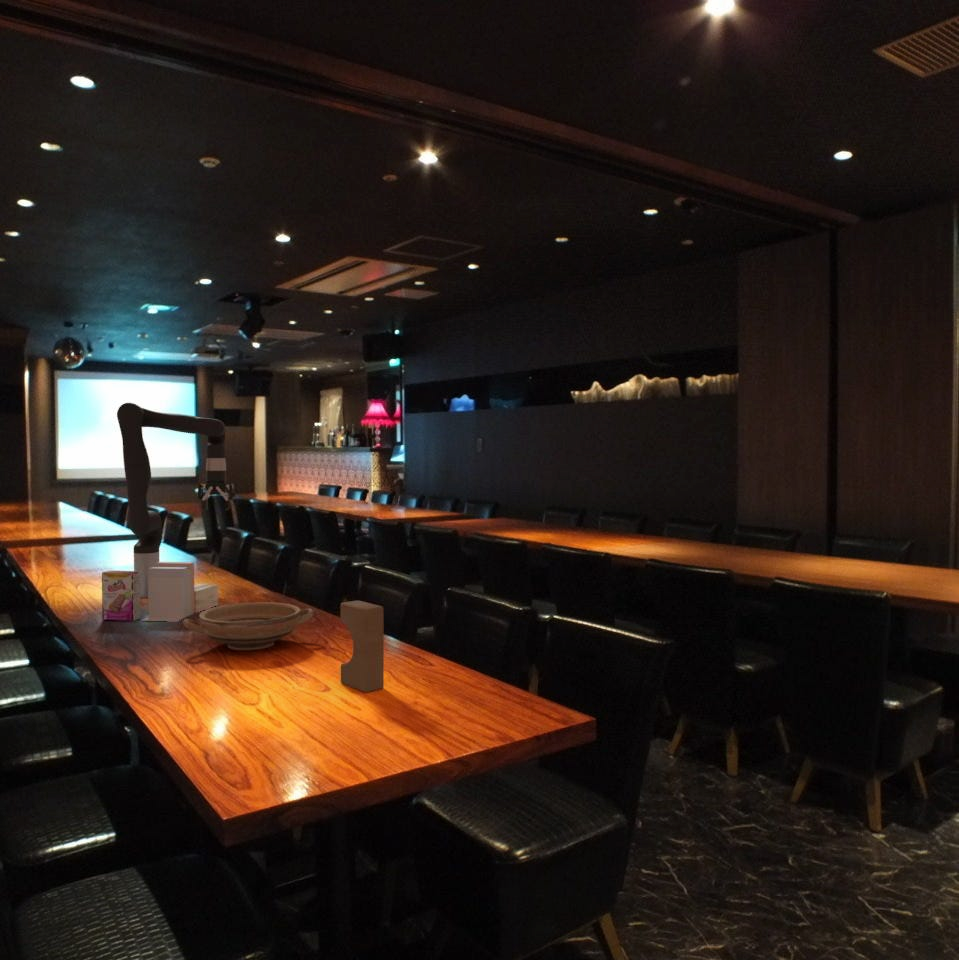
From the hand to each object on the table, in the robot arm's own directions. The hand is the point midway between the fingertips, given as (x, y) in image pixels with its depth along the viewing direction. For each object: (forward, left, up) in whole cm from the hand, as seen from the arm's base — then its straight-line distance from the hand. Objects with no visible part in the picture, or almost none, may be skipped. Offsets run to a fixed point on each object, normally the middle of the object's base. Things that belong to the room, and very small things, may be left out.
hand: (216, 510), depth 314 cm
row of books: (+2, -47, -33) cm, 58 cm away
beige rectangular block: (+6, -33, -33) cm, 47 cm away
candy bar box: (-12, -52, -33) cm, 63 cm away
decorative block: (+84, -119, -33) cm, 149 cm away
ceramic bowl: (+43, -82, -33) cm, 98 cm away
